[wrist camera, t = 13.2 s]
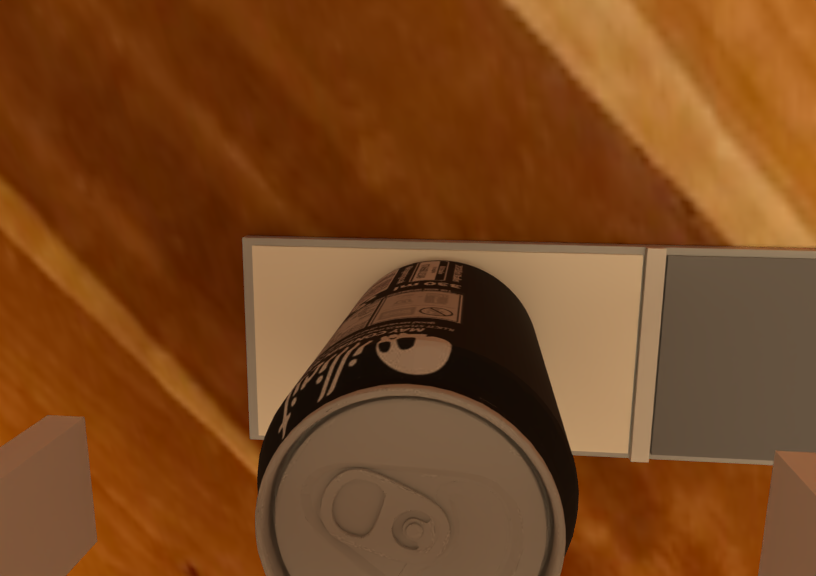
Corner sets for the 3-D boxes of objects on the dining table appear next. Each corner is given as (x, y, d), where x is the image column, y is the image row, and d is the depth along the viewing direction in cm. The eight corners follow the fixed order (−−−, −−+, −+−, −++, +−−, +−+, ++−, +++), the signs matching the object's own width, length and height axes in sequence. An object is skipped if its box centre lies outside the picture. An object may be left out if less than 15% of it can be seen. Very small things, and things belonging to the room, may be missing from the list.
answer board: (247, 235, 25) (239, 238, 24) (1099, 254, 23) (1123, 259, 22) (254, 432, 27) (247, 442, 26) (1053, 471, 24) (1074, 484, 23)
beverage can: (492, 465, 25) (504, 743, 14) (321, 396, 25) (187, 614, 14) (567, 299, 24) (653, 450, 12) (386, 226, 24) (298, 308, 12)
